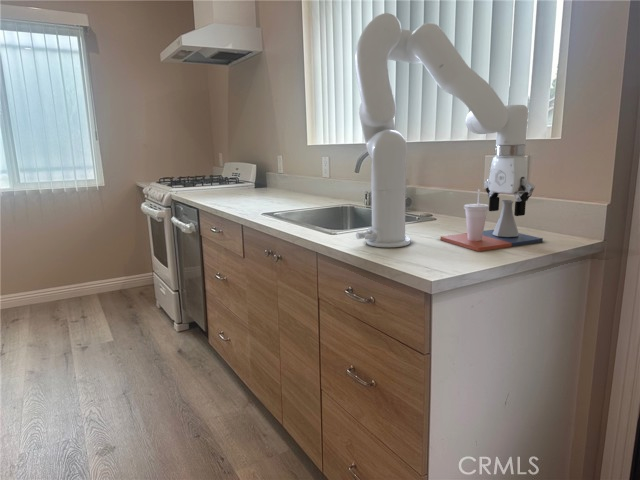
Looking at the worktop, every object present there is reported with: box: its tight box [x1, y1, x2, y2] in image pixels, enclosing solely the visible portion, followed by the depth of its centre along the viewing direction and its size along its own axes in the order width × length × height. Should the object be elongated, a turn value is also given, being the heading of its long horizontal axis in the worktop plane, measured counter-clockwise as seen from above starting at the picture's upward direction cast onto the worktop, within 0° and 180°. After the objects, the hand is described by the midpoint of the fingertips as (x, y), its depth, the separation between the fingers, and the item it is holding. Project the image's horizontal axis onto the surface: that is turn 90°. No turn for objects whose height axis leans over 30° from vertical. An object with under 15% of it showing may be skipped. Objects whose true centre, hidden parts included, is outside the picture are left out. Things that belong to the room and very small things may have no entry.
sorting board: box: [440, 229, 544, 252], centre depth 122 cm, size 22×16×1 cm
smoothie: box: [463, 188, 489, 241], centre depth 119 cm, size 6×6×14 cm
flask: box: [493, 199, 520, 237], centre depth 123 cm, size 7×7×10 cm
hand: (506, 213), depth 123 cm, fingers open, 9 cm apart
